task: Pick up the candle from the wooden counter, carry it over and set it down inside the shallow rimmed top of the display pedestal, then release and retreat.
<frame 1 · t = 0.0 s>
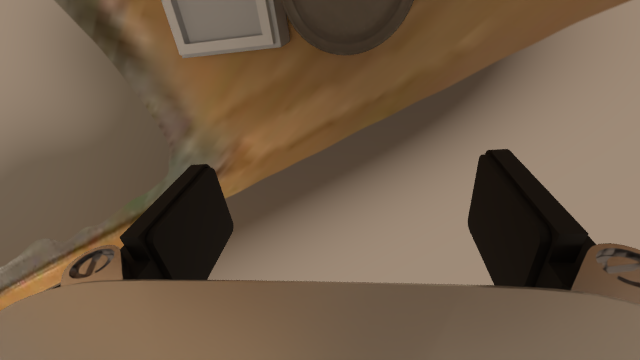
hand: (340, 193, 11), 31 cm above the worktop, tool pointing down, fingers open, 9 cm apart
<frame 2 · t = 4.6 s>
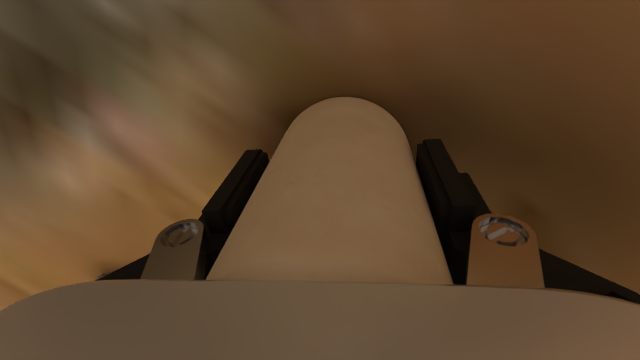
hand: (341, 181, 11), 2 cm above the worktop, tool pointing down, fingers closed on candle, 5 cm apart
candle: (344, 154, 13), on the worktop, touching gripper
when the fingers open (8 cm above the worktop, at t = 10.0 s): candle drops 1 cm, resting on pedestal.
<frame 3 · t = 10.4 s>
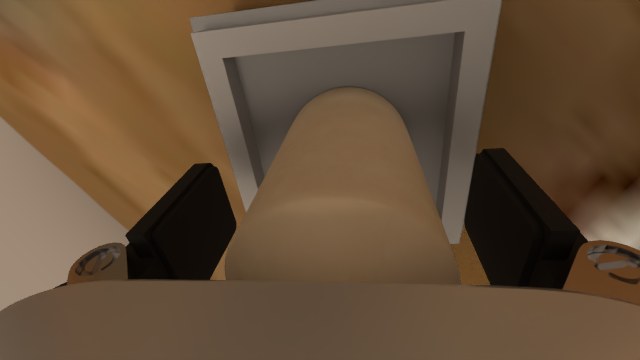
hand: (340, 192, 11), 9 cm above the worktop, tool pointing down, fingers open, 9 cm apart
pedestal: (349, 108, 19), on the worktop
candle: (347, 141, 14), point 5 cm above the worktop, touching pedestal
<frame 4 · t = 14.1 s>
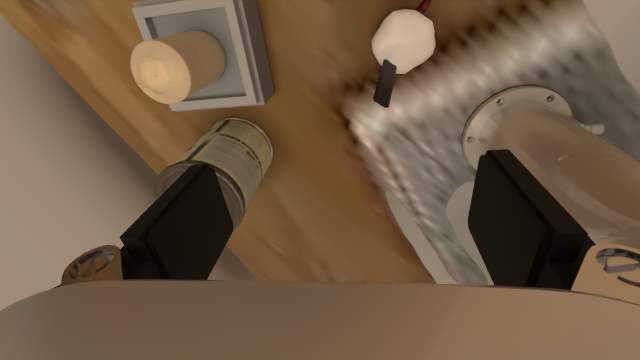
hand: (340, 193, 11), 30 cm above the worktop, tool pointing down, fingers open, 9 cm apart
cocoa: (397, 38, 35), on the worktop
coffee can: (241, 148, 45), on the worktop
pedestal: (220, 49, 38), on the worktop
candle: (204, 56, 34), point 5 cm above the worktop, touching pedestal
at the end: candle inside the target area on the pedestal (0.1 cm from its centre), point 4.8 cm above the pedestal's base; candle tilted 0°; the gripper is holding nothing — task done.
